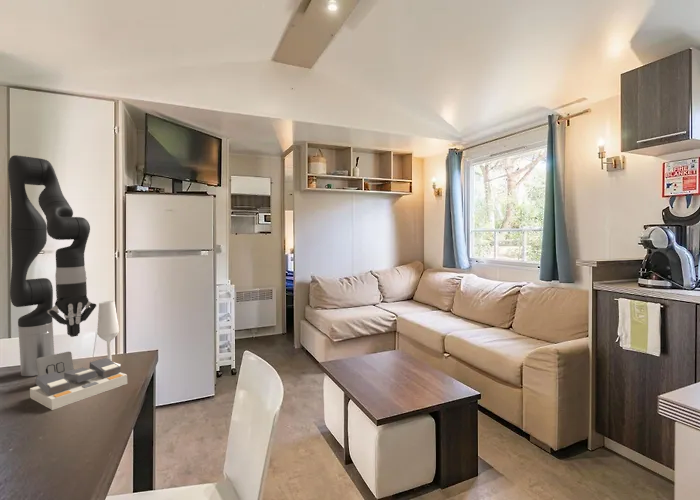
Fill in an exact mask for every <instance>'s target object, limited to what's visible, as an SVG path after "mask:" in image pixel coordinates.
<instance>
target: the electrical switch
mask: <svg viewBox="0 0 700 500" xmlns="http://www.w3.org/2000/svg"><path fill="white" fill-rule="evenodd" d="M36 365H37V372H38V375H37V377H39V376H42V375H46V374H49V373H53V372H58V373H59V374H60V375H61V376H63V377H64V372H68V371H72V370H75V369H74V363H73V354H72V352H71V351H64V352H60V353H54V355H50V356H45V357H41V358H37V359H36Z"/></svg>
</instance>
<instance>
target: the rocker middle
mask: <svg viewBox="0 0 700 500" xmlns="http://www.w3.org/2000/svg"><path fill="white" fill-rule="evenodd" d="M95 377H97V376H96V371H95V370H91V369H90V368H86V367H79V368H76V369H74V370H72V371H68V372H64V378H65V379H66V380H70V381H73V382H77V383H79V382H82V381H86V380H89V379H92V378H95Z"/></svg>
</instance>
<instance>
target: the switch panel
mask: <svg viewBox="0 0 700 500" xmlns="http://www.w3.org/2000/svg"><path fill="white" fill-rule="evenodd" d="M96 376H97V377H95V378H92V379H89V380H86V381H82V382H79V383H77V382H73V381H70V380H67V381H69V382H70V389H68V390H64V391H61V392H58V393H55V394H52V395H48V394H47V393H46V392H44V391H43V390H42V389H41V388H40V387H39V386H38V385H36V386H33V387H30V388H29V394H30V395H29V396H30V397H29V398H30V399H31V400H33V401H35V402H37V403H38V404H41V405H42V406H44V407H46V408H48V409H49V410H51V411H54V410H57V409H60V408H63V407H65V406H68V405H71V404H74V403H76V402H79V401H82V400H86V399H88V398H91V397H94V396H96V395H99V394H102V393H104V392H105V393H106V392H108V391H111V390H114V389H117V388H119V387H122V386H125V385H127V384H129V383H128V375H127V374H126V373H124V372H121V371H120V373H117V374H114V375H111V376H108V377H105V378H103V377H101V376H100V375H98V374H97V373H96Z"/></svg>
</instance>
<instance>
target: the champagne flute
mask: <svg viewBox="0 0 700 500" xmlns="http://www.w3.org/2000/svg"><path fill="white" fill-rule="evenodd" d="M97 314H98V315H97V317H98V318H97V329H96V330H97V332H96V335H97V336H98V337H99V338H100V339H101V340H103V341H104V342H106V352H107V358H108V359H109V360H111V361H112V362H114V363H115V364H117V365H118V366H120V367H121V363H117V362H115V361H113V360H112V342H111V341H113V340H114V339H115V338H116V337H117V335H118V334H119V332H120V326H119V320H118V314H117V309H116V301H114V300H106V301H100V302H99V303H98V313H97Z"/></svg>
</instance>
